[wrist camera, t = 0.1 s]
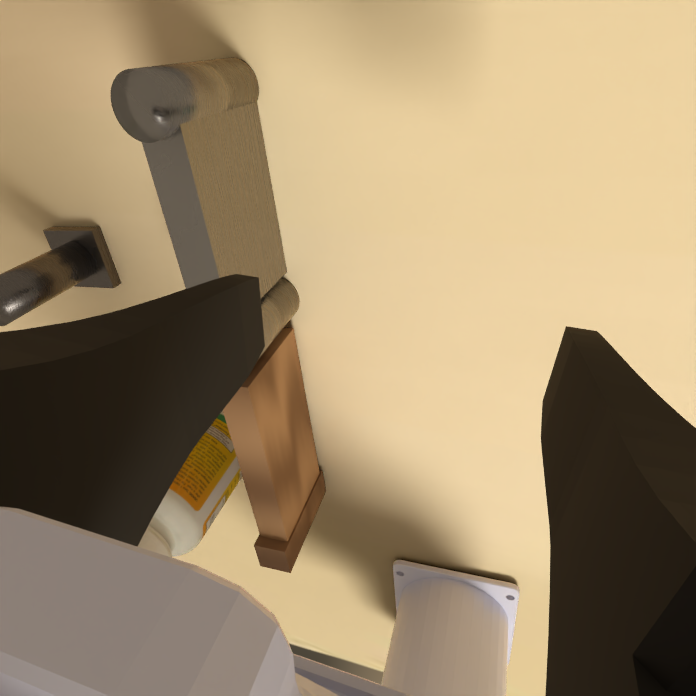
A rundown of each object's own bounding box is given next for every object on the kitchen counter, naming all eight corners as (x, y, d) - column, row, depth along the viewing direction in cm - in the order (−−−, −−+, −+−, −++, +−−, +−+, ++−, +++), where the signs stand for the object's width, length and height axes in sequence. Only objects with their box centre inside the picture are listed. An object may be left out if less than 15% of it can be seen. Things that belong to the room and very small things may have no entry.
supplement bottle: (267, 467, 32) (184, 607, 24) (198, 460, 34) (101, 588, 26) (244, 401, 29) (143, 536, 21) (170, 397, 31) (53, 520, 23)
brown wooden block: (264, 324, 25) (205, 392, 21) (296, 326, 25) (243, 396, 20) (299, 486, 31) (260, 565, 27) (325, 490, 31) (290, 572, 26)
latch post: (120, 283, 27) (32, 339, 22) (75, 281, 28) (-19, 334, 23) (99, 226, 25) (-1, 274, 20) (52, 226, 26) (-55, 272, 21)
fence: (302, 319, 25) (248, 391, 20) (259, 317, 25) (197, 385, 20) (257, 54, 18) (163, 64, 14) (203, 60, 19) (95, 73, 14)
